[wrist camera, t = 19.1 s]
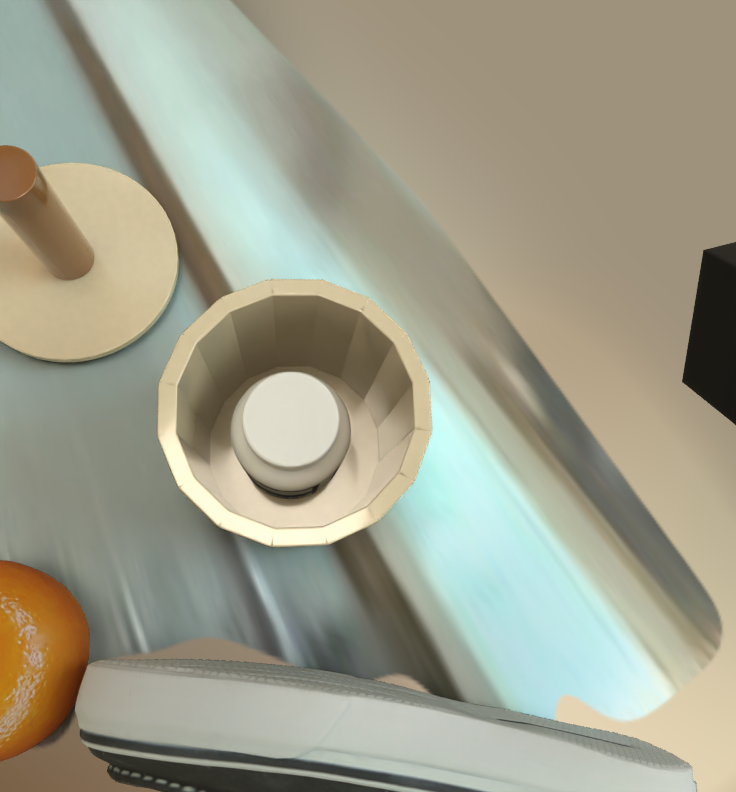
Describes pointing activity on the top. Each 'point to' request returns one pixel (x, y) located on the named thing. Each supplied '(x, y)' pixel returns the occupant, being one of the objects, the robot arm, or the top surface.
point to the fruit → (37, 656)
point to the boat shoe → (339, 736)
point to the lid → (79, 259)
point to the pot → (308, 353)
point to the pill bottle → (290, 434)
